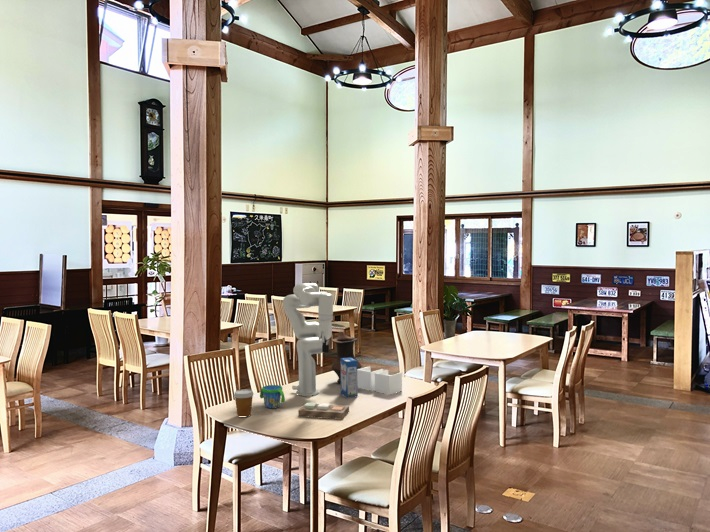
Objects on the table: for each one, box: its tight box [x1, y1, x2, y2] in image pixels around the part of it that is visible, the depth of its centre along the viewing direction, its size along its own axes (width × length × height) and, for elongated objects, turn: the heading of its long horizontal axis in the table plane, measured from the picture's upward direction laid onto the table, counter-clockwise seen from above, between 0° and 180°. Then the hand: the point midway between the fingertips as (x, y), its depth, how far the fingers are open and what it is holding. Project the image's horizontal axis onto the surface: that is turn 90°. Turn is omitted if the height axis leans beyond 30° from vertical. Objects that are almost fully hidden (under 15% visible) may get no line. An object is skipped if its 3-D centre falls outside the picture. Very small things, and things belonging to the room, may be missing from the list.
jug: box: [330, 331, 363, 385], centre depth 332 cm, size 21×18×30 cm
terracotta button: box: [331, 406, 344, 411], centre depth 267 cm, size 5×5×3 cm
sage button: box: [303, 402, 318, 409], centre depth 270 cm, size 5×5×3 cm
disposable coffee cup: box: [233, 388, 254, 417], centre depth 267 cm, size 10×10×12 cm
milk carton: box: [340, 357, 359, 399], centre depth 302 cm, size 10×6×20 cm, turn 22°
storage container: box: [357, 366, 403, 396], centre depth 313 cm, size 25×11×11 cm, turn 46°
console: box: [297, 403, 350, 420], centre depth 268 cm, size 23×12×3 cm, turn 77°
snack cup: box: [259, 384, 286, 409], centre depth 282 cm, size 16×10×10 cm
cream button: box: [318, 402, 331, 410], centre depth 268 cm, size 5×5×3 cm
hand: (325, 352), depth 284 cm, fingers closed
